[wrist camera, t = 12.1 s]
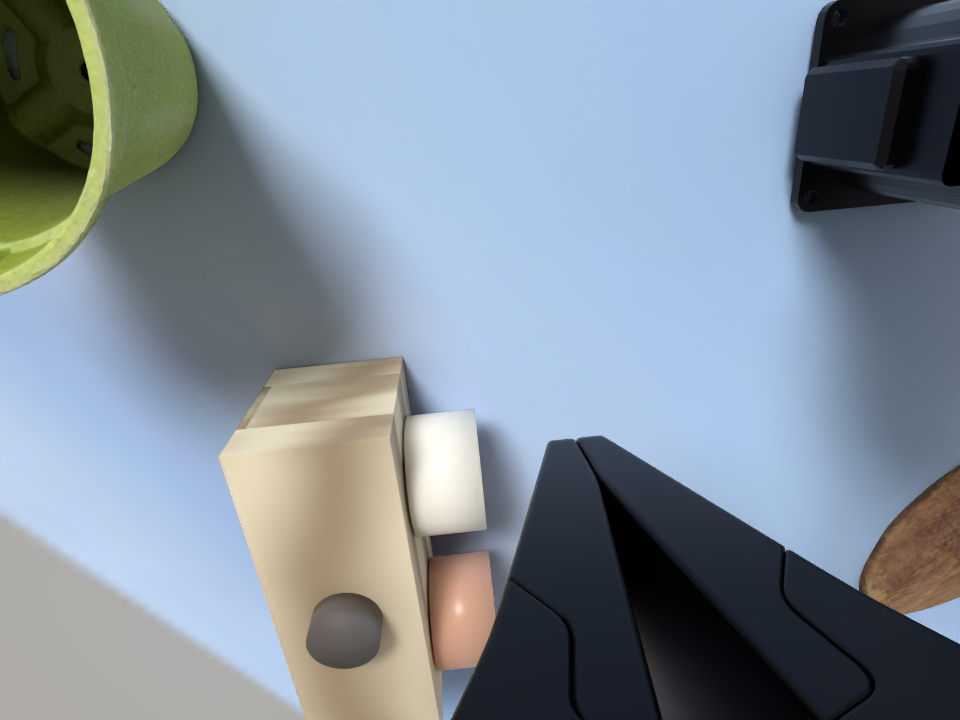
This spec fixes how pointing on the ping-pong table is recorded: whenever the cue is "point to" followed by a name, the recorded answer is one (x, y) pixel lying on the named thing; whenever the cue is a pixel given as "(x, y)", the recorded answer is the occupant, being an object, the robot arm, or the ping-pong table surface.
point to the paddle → (919, 552)
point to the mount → (338, 539)
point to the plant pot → (83, 119)
